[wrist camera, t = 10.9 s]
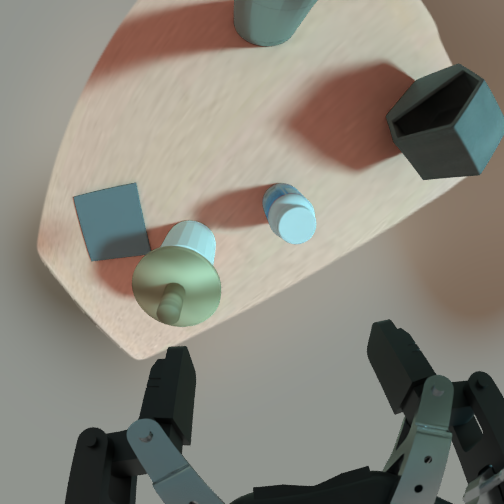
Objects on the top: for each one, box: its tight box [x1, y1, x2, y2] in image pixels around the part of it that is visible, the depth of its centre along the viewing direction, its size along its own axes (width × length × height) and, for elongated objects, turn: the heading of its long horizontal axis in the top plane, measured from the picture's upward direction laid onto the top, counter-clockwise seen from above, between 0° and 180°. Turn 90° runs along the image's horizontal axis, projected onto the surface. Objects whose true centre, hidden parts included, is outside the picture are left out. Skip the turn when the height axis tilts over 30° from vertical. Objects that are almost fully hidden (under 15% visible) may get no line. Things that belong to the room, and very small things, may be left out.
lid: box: [132, 246, 221, 327], centre depth 33 cm, size 12×12×6 cm
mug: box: [161, 220, 216, 265], centre depth 41 cm, size 8×12×10 cm
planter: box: [386, 64, 504, 180], centre depth 29 cm, size 17×8×21 cm
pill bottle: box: [263, 183, 316, 244], centre depth 37 cm, size 6×6×11 cm
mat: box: [74, 183, 151, 261], centre depth 42 cm, size 12×12×1 cm
